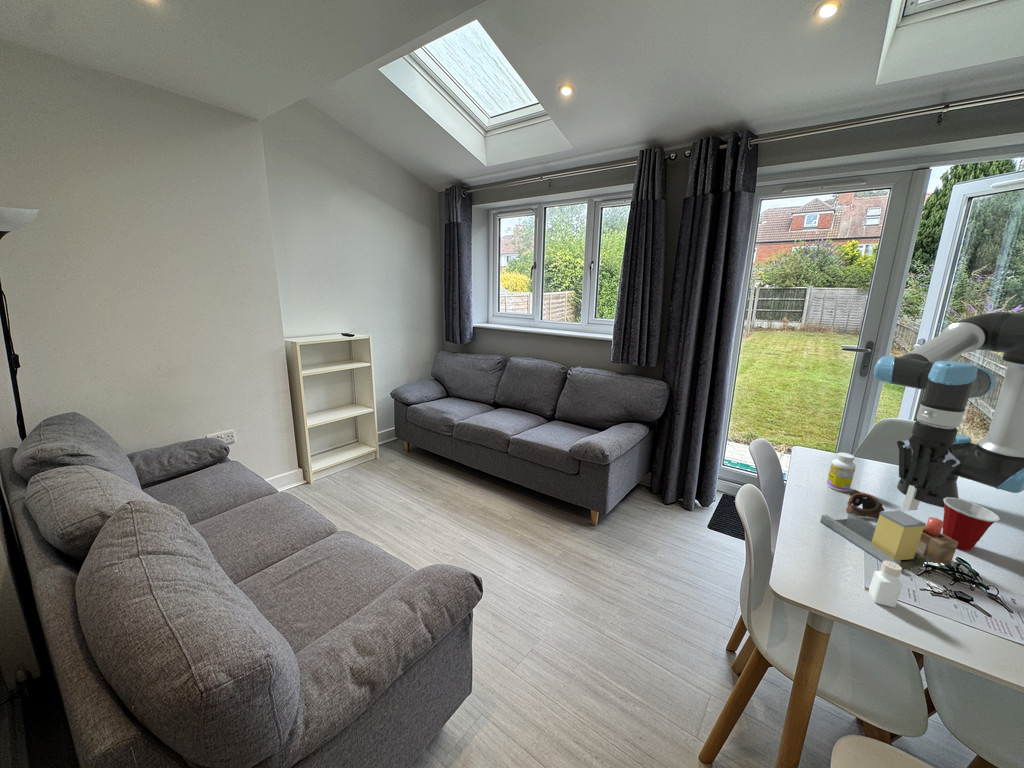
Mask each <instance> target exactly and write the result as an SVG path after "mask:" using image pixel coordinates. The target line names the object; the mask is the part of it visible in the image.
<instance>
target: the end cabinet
mask: <svg viewBox="0 0 1024 768" xmlns="http://www.w3.org/2000/svg"><path fill="white" fill-rule="evenodd" d="M926 525H927V524H926ZM926 525H925V526H924V529H923V532H922V535H921V538H920V541H919V544H918V547H917V550H918V551H920V552H922V553H924V554H925V555H927V556H929V557H931V561H930V562H933V563H945V564H947V565H949V566H951V563H952V562H953V559H954V556H955V553H956V550H957V545H958V542H957V541H955V540H953V539H951V538H949V537H947V536H946V535H944V534H942V533H943V532H941V533H940V535H939V536H935V535H932V534H929V533H927V532H926V531H925V528H926Z"/></svg>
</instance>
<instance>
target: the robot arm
mask: <svg viewBox="0 0 1024 768" xmlns="http://www.w3.org/2000/svg"><path fill="white" fill-rule="evenodd" d="M975 351H989V352H994V353H995V352H996V353H1001V354H1002V353H1003V354H1002V358H1001V360H1002V362H1004V363H1005V364H1006V365H1007V369H1006V372H1005V375H1004V378H1003V382H1002V384H1001V385H1002V386H1001V389H1000V392H999V395H998V397H997V398H998V399H997V402H996V405H995V408H994V411H993V416H992V418H991V421H990V425H989V428H988V432H987V436H986V438H985V437H984V438H981V439H980V440H978V441H977V443H974V442H972V438H971V436H970V437H969V436H967V435H965V434H960V433H958V431H959V429H958V427H960V425H961V423H962V420H963V416H964V412H965V410H966V407H967V404H968V401H969V399H973V398H979V397H982V396H984V395H986V394H988V393H991V391H992V390H993V389H994V388H995V386H996V378H995V375H994V374H993V372H991V371H989V370H988V369H985V368H983V367H978V366H976V365H975V364H972V363H967V362H962V361H961V362H960V361H953V360H955V359H956V358H958V357H960V356H961V355H962V354H963V355H964V354H965V353H971V352H975ZM876 361H877V362H876V363H875V366H874V369H873V377H874V379H875V380H877V381H878V382H882V383H887V384H889V385H895V386H896V385H898V386H900V387H901V386H902V387H906V388H913V389H916V390H917V389H918V390H921V391H922V390H923V395H922V399H921V400H920V401H921V402H920V404H919V408H918V411H917V415H916V419H917V420H915V421H914V424H913V426H912V427H913V428H912V431H911V436H910V437H909V439H907V440H898V441H896V444H897V447H898V450H899V451H898V477H899V478H900V479H899V480H898V482H897V486H896V487H897V489H898V491H900V493H902V494H903V495H905V498H904V501H903V504H902V508H903V509H905V510H907V511H917V510H918V509H919V505H920V502H921V501H922V502H924V503H927V504H930V505H931V504H932V505H935V506H936V505H937V506H941V505H943V507H944V501H943V499H944V498H946V497H949V498H957V499H960V497H959V490H958V483H957V482H958V478H959V477H961V478H964V479H967V480H970V481H973V482H975V483H979V484H982V485H985V486H988V487H991V488H994V489H996V490H1001V491H1005V492H1009V493H1011V494H1019V493H1022V492H1024V313H1023V312H1022V313H1020V312H1014V313H1013V312H1002V311H1000V312H998V311H996V312H987V313H981V314H978V315H972V316H970V317H966V318H963V319H960V320H957V321H955V322H953V323H951V324H949V325H948V326H946V327H945V328H943V330H942V331H941V333H940V334H939V335H937V336H935V337H933V338H932V339H930V340H928V341H926V342H924V343H923V344H921V345H919V346H917V347H916V348H913V349H912V350H910V351H909V352H907V353H905V354H903V355H901V356H900V357H897V356H895V355H894V356H890V355H884V356H882V357H880V358H879V359H878V360H876Z"/></svg>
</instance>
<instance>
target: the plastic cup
mask: <svg viewBox="0 0 1024 768" xmlns="http://www.w3.org/2000/svg"><path fill="white" fill-rule="evenodd" d="M943 501H944V506H943V507H944V508H943V517H942V518H943V520H942V521H943V522H944V524H943V527H942V532H941V533H942V534H944V535H946V536H947V537H949V538H951V539H953V540H955V541H957V542H958V545H957V548H956V550H957V549H958V550H961V551H969V552H970V551H971V550H973V549H974V547H975V546H976V544H977V543H978V542H979V541H980V540H981V539H982V537H983V536H984V535H985V533H986V532H987V531H988V529H989V528H990V527H991V526H992V525H993V524H994V523H997V522H999V521H1000V520H1001V518H1000V516H999V515H998V514H997V513H995V512H993V511H992V510H990V509H988V508H986V507H984V506H982V505H979V504H977V503H974V502H972V501H968V500H965V499H961V498H959V499H957V498H949V497H946V498H944V499H943Z"/></svg>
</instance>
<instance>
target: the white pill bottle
mask: <svg viewBox="0 0 1024 768" xmlns="http://www.w3.org/2000/svg"><path fill="white" fill-rule="evenodd" d="M902 570H903V569H902V568H901V567H900V566H899V565H898V564H896V563H894V562H891V561H883V562H881V566H880V570H875V571H874V572H873V575H872V579H871V582H870V585H869V589H868V593H869V595H870V597H871V599H872V600H873V602H874V603H875V604H878V605H882V606H886V607H889V608H896V606H897V604H898V600H899V597H900V595H901V592H902V588H903V583H902V582H901V581H900V577H901V573H902Z"/></svg>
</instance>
